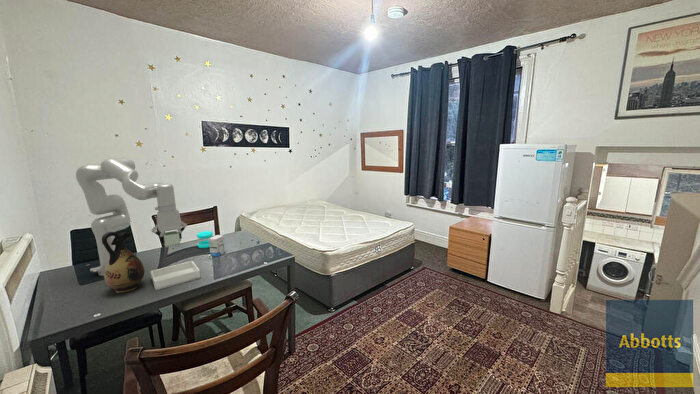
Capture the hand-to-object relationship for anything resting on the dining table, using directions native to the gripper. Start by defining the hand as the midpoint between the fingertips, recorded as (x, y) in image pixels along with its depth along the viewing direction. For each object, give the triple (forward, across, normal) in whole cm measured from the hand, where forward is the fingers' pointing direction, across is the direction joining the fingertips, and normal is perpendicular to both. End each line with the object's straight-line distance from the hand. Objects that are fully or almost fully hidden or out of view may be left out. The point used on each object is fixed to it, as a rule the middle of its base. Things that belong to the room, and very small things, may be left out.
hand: (171, 241), depth 145 cm
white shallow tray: (+21, 0, 0) cm, 21 cm away
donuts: (+21, +25, +41) cm, 52 cm away
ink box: (+21, +27, +21) cm, 40 cm away
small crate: (+1, 0, 0) cm, 1 cm away
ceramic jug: (+21, -21, +4) cm, 30 cm away
